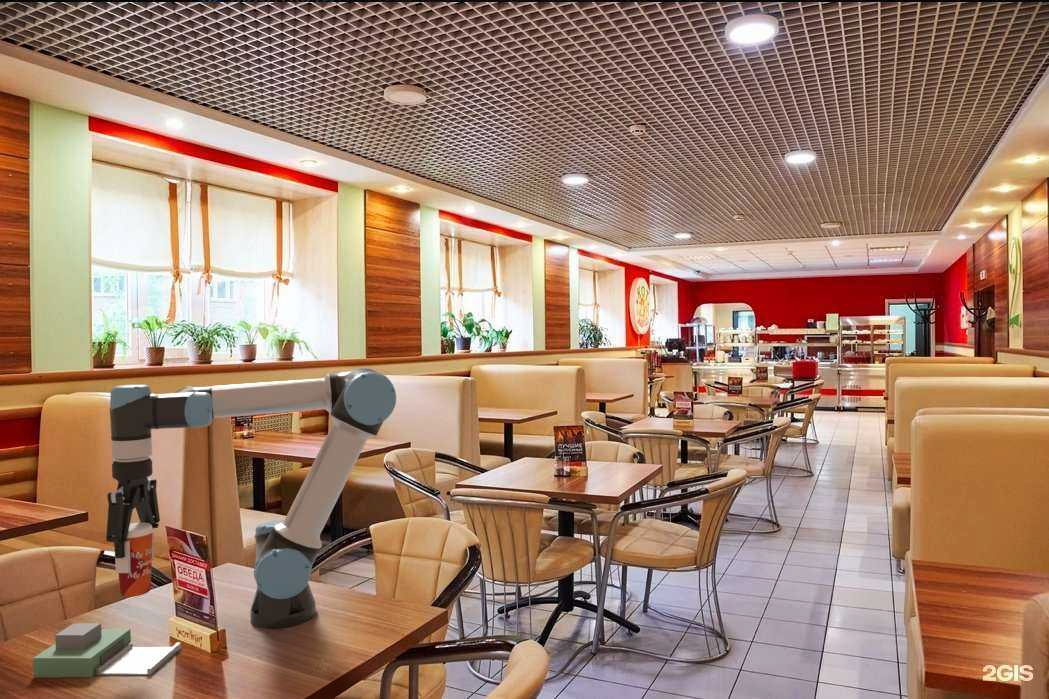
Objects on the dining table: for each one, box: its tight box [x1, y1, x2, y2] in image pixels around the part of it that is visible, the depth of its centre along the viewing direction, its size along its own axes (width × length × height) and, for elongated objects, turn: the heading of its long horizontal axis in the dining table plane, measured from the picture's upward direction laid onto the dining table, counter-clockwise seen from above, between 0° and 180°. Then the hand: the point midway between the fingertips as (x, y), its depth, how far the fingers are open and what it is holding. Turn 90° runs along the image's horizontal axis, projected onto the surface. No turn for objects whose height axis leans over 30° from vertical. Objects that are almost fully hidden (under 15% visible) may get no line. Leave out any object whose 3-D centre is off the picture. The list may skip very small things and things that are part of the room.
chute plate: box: [94, 642, 182, 676], centre depth 156 cm, size 12×12×1 cm
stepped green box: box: [32, 622, 132, 679], centre depth 156 cm, size 12×14×7 cm
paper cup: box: [117, 522, 155, 598], centre depth 156 cm, size 8×8×14 cm
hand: (135, 565), depth 156 cm, fingers closed on paper cup, 8 cm apart
